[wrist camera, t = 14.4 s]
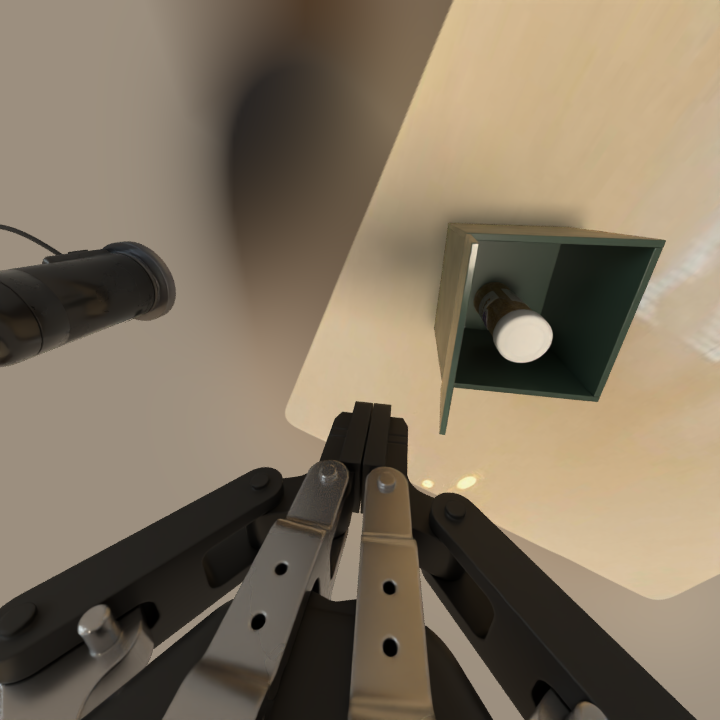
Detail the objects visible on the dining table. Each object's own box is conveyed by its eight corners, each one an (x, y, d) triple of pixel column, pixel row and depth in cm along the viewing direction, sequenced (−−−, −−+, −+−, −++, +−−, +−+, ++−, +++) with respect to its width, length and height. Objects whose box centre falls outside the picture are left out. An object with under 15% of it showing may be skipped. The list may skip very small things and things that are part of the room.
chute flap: (445, 390, 28) (440, 389, 28) (471, 234, 22) (465, 233, 22) (445, 435, 22) (439, 434, 23) (479, 243, 17) (471, 242, 17)
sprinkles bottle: (468, 290, 39) (490, 327, 27) (506, 275, 38) (547, 307, 26) (479, 323, 41) (505, 371, 29) (516, 309, 39) (560, 354, 27)
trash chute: (434, 328, 42) (442, 386, 29) (448, 222, 37) (467, 232, 23) (536, 336, 41) (598, 402, 27) (568, 226, 35) (666, 240, 21)
